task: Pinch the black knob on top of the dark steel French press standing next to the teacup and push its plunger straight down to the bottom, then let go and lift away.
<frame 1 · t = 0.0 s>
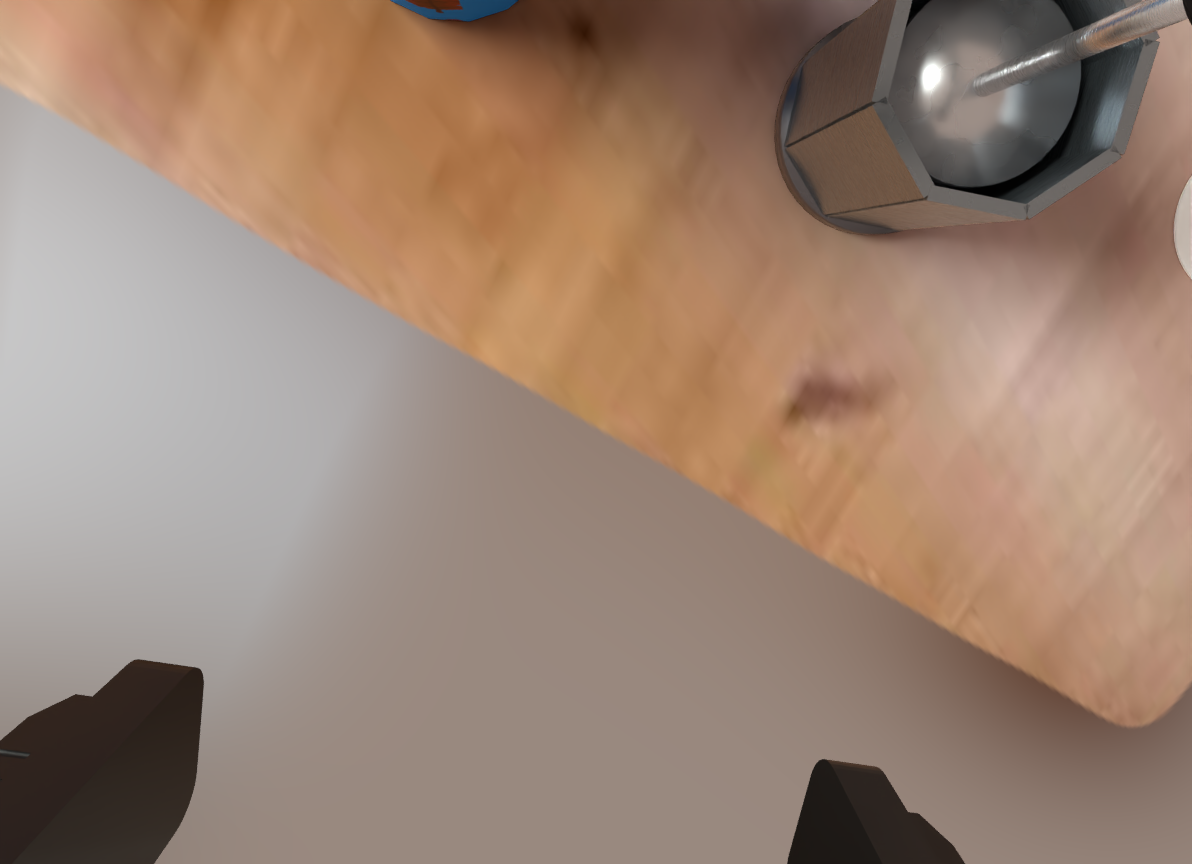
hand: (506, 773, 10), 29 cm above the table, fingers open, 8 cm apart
plunger: (1112, 31, 20), point 16 cm above the table, slide at 0.0 cm
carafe: (875, 130, 36), on the table
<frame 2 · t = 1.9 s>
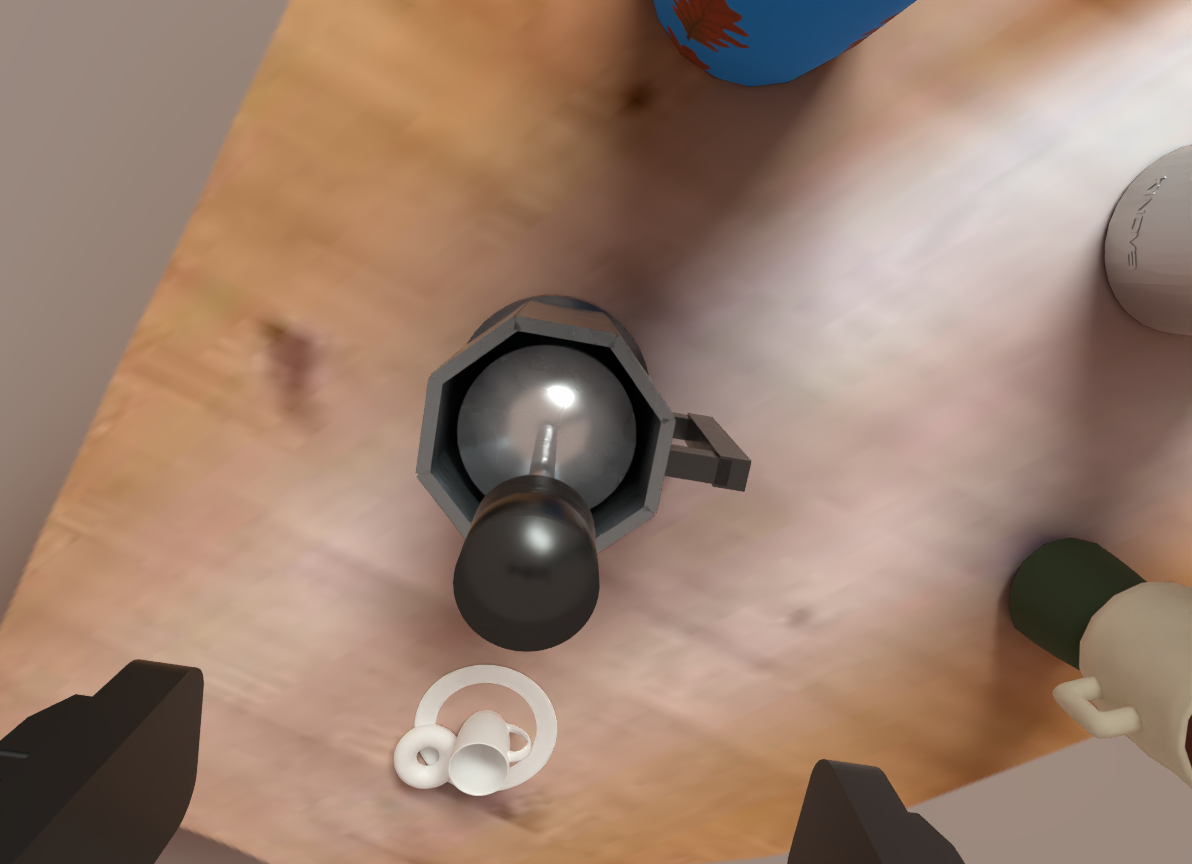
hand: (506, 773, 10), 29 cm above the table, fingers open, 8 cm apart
character mug: (1054, 586, 42), on the table
plunger: (540, 483, 23), point 16 cm above the table, slide at 0.0 cm
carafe: (553, 391, 39), on the table
teacup and saucer: (445, 689, 43), on the table
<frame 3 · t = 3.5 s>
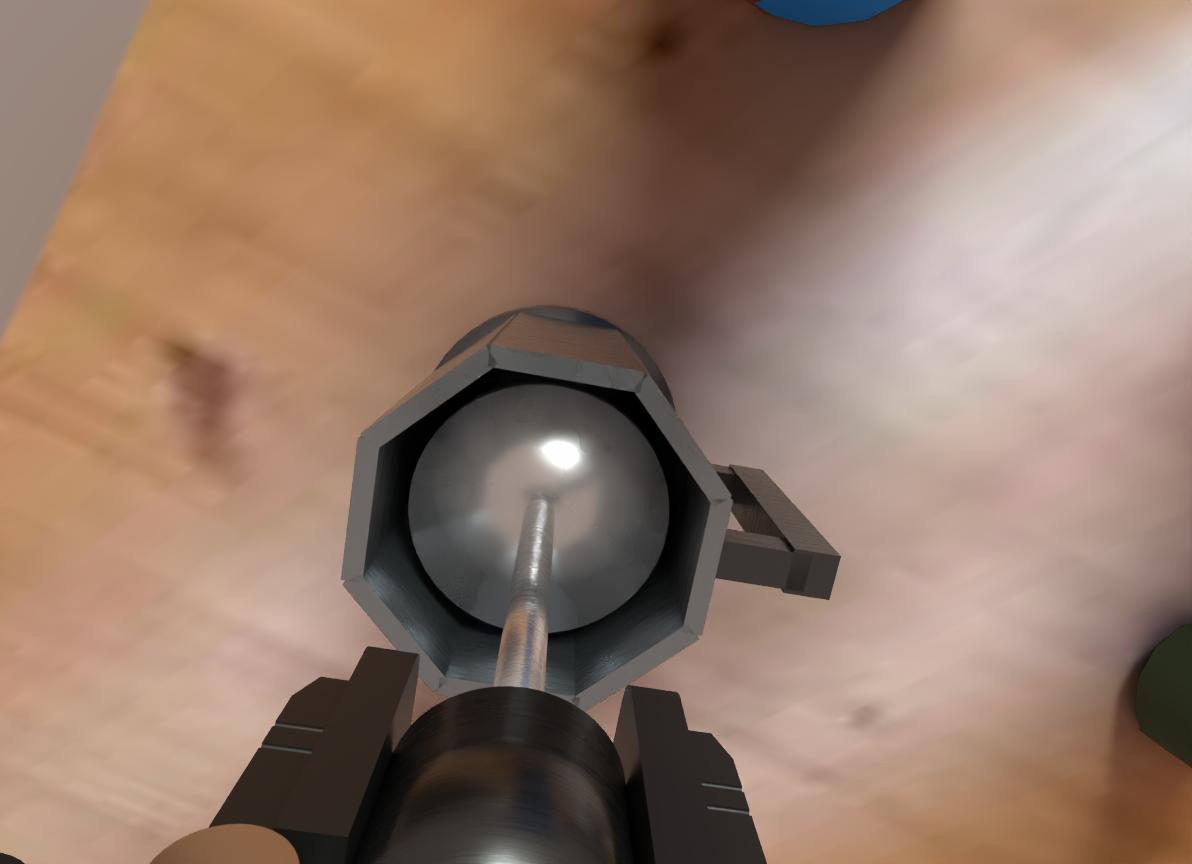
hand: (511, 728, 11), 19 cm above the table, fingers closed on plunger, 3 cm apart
character mug: (1188, 676, 33), on the table
plunger: (525, 631, 14), point 16 cm above the table, slide at 0.0 cm, touching gripper
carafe: (549, 431, 29), on the table
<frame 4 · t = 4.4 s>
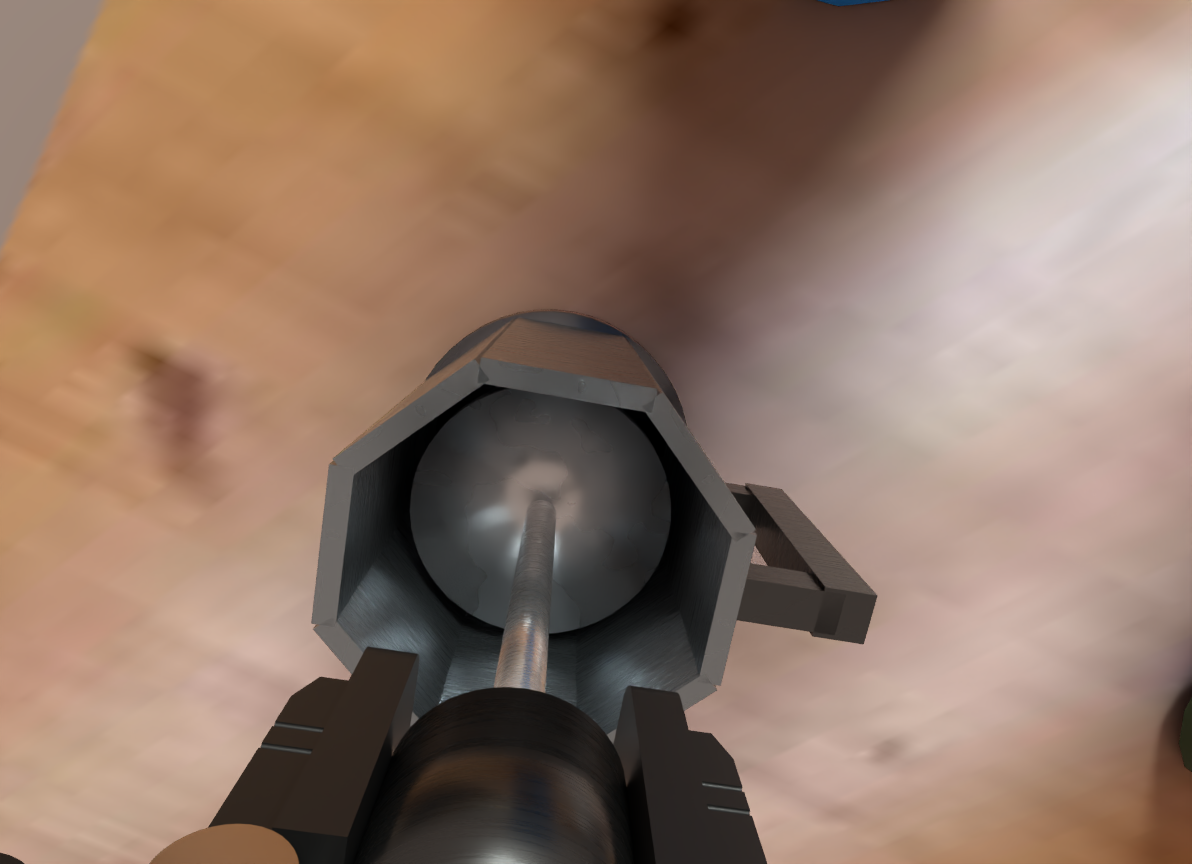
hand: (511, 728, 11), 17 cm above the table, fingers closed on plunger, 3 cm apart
plunger: (526, 632, 14), point 14 cm above the table, slide at 2.3 cm, touching gripper
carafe: (549, 445, 27), on the table
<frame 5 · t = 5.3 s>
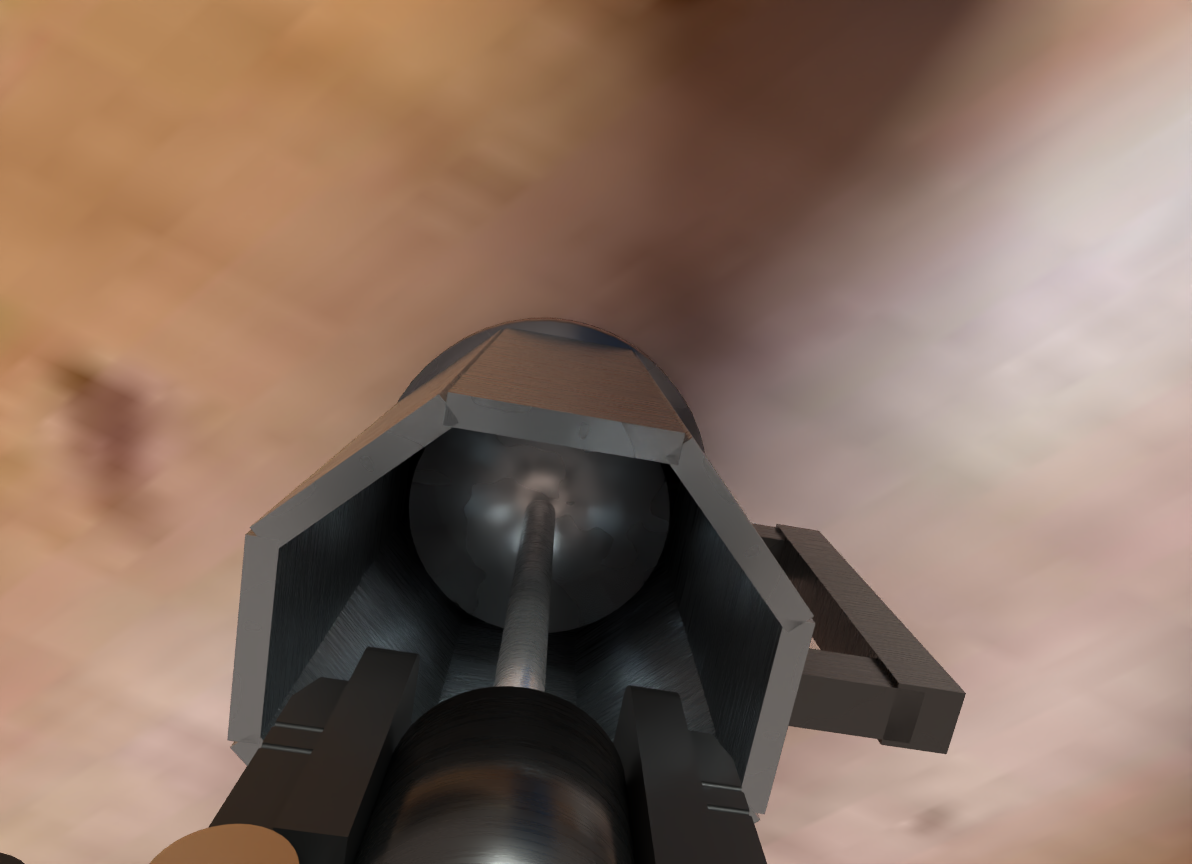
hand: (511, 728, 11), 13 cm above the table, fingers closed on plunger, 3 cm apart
plunger: (525, 631, 14), point 10 cm above the table, slide at 6.2 cm, touching gripper
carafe: (544, 475, 23), on the table
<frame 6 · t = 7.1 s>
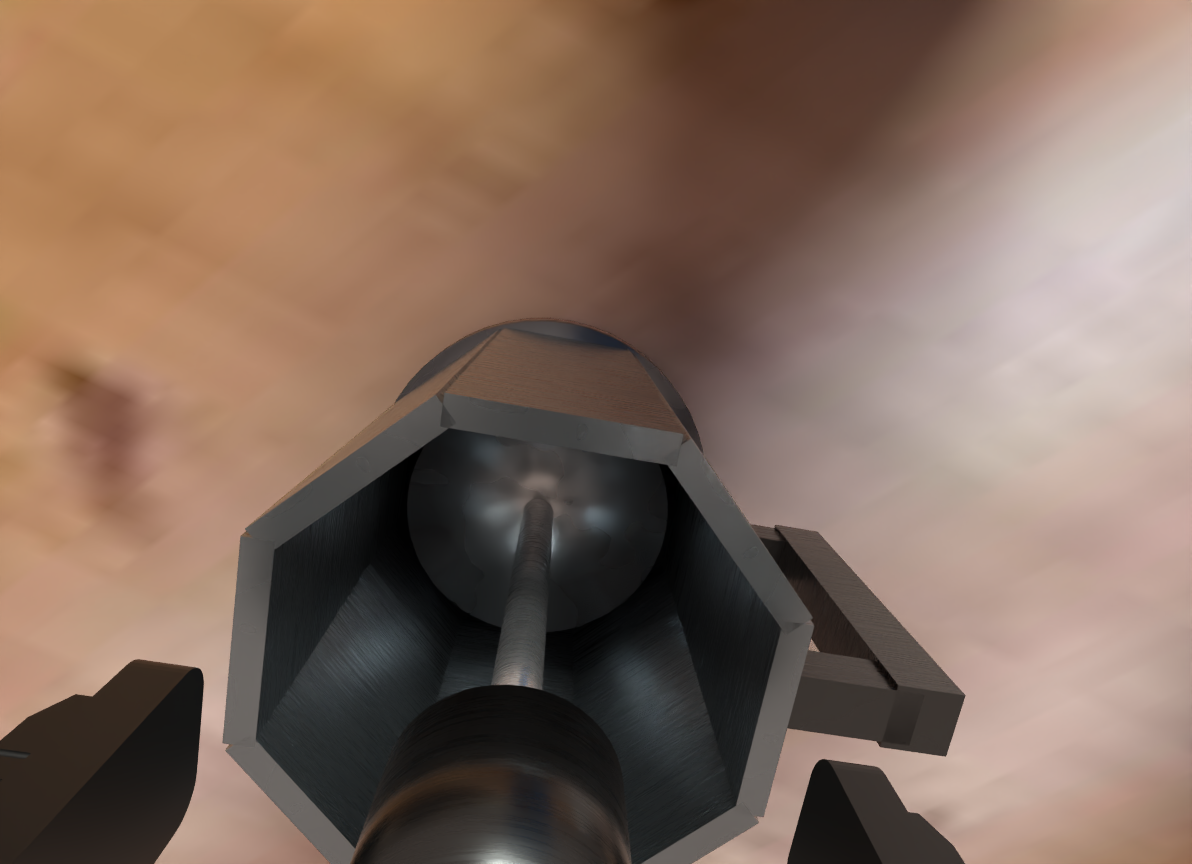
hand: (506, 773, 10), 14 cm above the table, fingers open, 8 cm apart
plunger: (523, 630, 14), point 10 cm above the table, slide at 6.3 cm
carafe: (542, 476, 23), on the table
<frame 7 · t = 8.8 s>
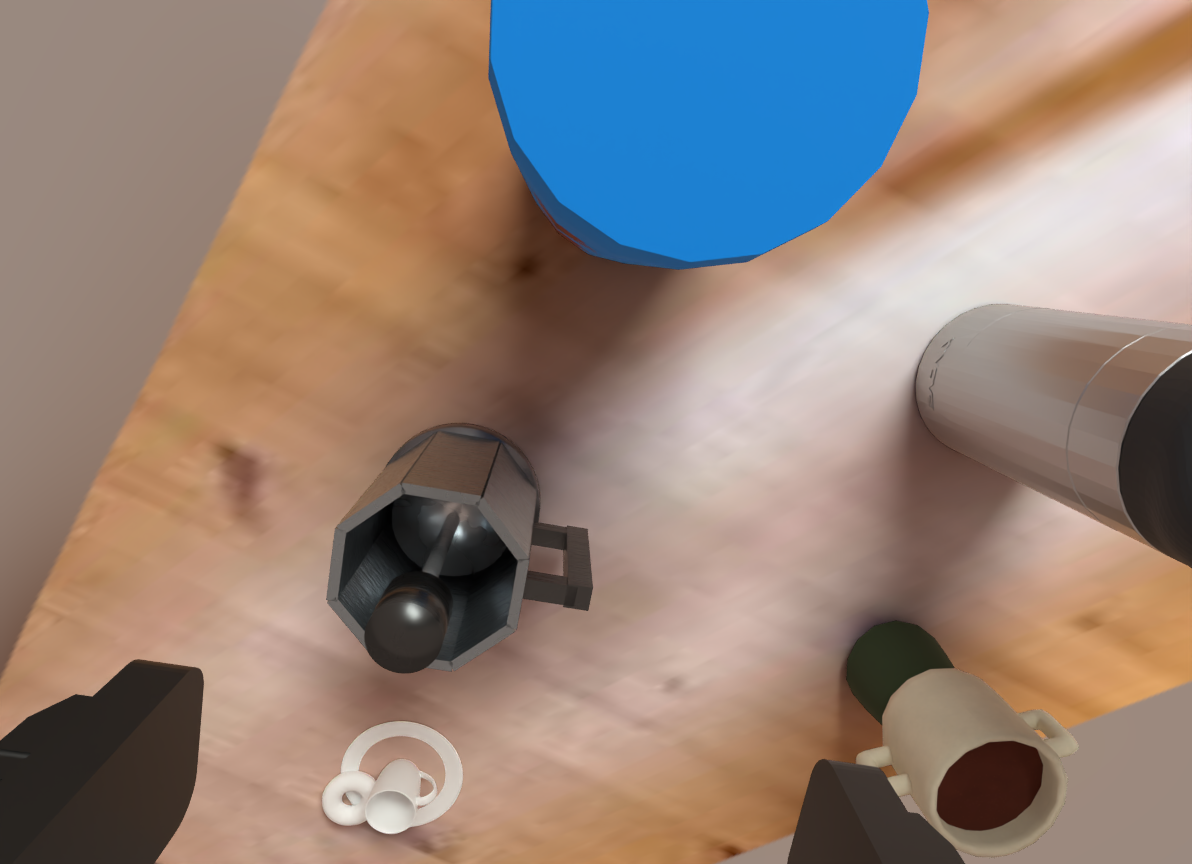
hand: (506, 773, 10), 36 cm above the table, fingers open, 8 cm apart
character mug: (887, 659, 50), on the table
plunger: (434, 564, 37), point 10 cm above the table, slide at 6.3 cm
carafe: (460, 500, 46), on the table
teacup and saucer: (368, 740, 51), on the table
thermos: (625, 162, 43), on the table
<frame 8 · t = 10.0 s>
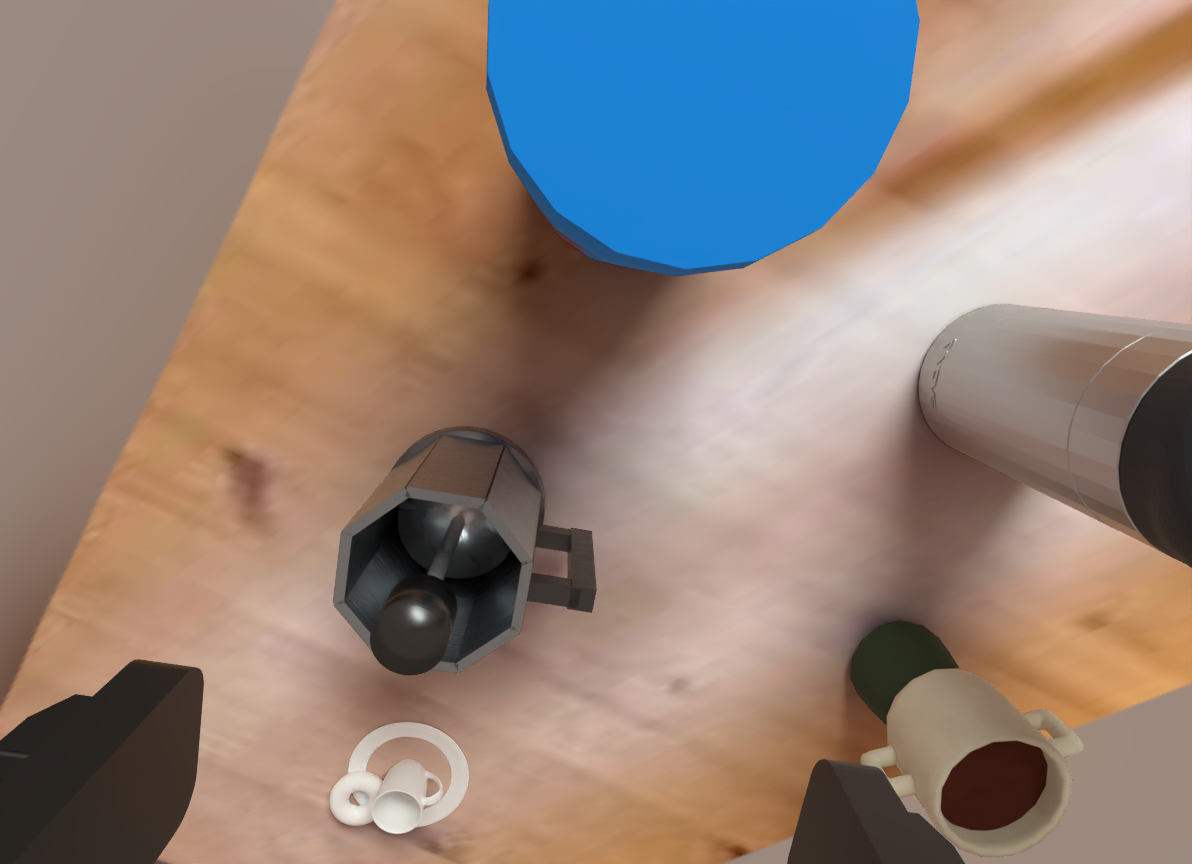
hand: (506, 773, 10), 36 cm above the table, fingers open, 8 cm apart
character mug: (892, 659, 50), on the table
plunger: (439, 567, 37), point 10 cm above the table, slide at 6.3 cm
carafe: (466, 503, 47), on the table
teacup and saucer: (374, 741, 51), on the table
thermos: (627, 167, 43), on the table
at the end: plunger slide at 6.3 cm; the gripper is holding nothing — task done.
